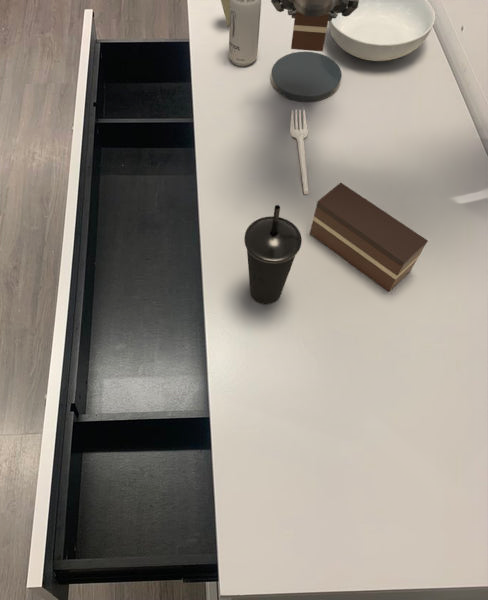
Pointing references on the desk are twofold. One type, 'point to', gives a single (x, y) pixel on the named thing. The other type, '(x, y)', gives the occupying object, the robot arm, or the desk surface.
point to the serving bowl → (383, 28)
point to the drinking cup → (270, 255)
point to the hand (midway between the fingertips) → (312, 13)
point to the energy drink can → (244, 31)
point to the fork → (300, 143)
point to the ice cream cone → (226, 10)
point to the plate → (306, 76)
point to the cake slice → (309, 32)
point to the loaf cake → (366, 236)
